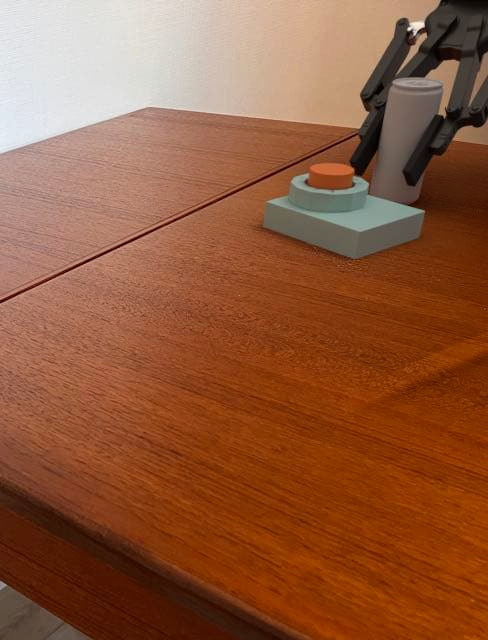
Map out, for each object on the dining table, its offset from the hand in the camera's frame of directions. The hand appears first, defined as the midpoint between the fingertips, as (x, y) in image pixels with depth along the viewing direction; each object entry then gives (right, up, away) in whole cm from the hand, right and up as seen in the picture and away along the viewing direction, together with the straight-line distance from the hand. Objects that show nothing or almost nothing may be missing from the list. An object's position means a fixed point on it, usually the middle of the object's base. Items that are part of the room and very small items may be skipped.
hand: (381, 173), depth 87 cm
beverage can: (+3, -2, +4) cm, 5 cm away
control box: (-6, -7, -3) cm, 9 cm away
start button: (-7, -2, -4) cm, 8 cm away
